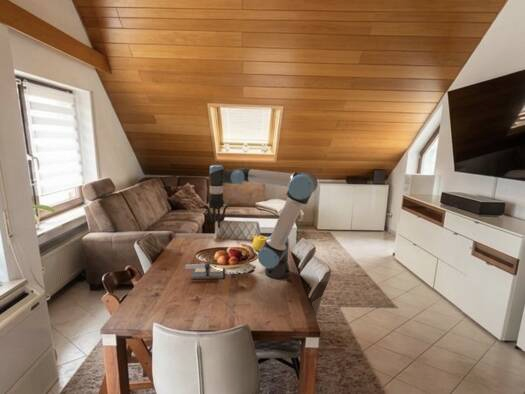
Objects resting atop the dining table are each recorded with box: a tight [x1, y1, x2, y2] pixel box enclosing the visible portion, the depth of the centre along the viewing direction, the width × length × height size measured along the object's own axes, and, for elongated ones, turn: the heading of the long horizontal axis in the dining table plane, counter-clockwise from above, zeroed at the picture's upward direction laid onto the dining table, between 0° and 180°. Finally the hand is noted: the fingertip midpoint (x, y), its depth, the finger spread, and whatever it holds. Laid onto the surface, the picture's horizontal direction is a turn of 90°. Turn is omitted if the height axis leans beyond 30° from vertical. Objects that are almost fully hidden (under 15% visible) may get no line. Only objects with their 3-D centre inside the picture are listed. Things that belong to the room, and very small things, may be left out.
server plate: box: [190, 265, 224, 280], centre depth 180 cm, size 18×14×6 cm
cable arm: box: [184, 262, 211, 270], centre depth 173 cm, size 3×14×2 cm, turn 101°
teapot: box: [251, 235, 268, 252], centre depth 218 cm, size 18×11×11 cm, turn 41°
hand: (216, 233), depth 177 cm, fingers closed
